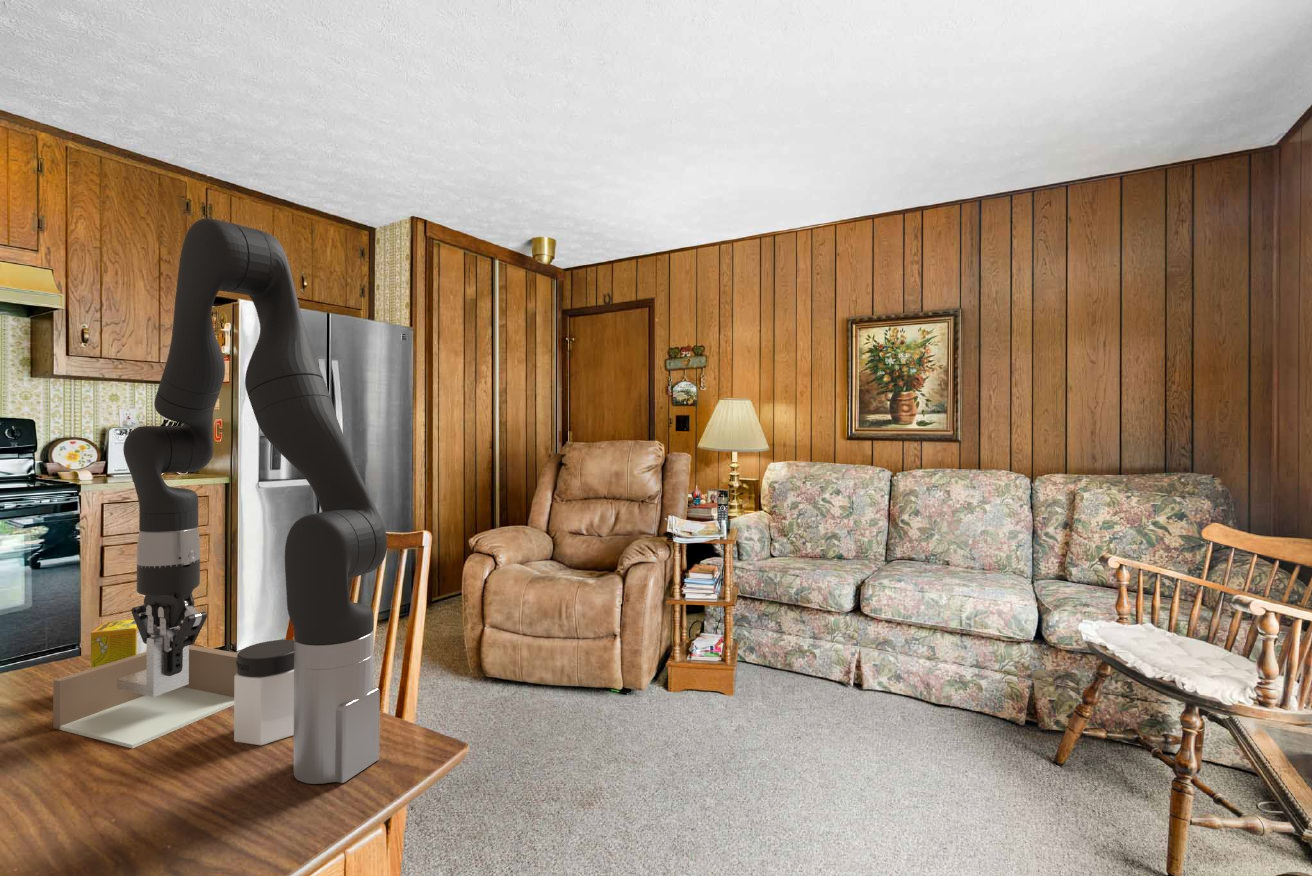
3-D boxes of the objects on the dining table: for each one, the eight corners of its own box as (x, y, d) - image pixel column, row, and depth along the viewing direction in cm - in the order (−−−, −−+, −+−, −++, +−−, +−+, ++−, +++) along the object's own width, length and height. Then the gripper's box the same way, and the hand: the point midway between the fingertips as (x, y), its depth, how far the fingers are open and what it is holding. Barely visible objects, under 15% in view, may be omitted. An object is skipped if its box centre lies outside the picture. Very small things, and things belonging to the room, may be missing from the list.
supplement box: (103, 686, 105) (103, 621, 105) (148, 680, 107) (148, 617, 107) (89, 700, 99) (89, 632, 99) (136, 693, 102) (136, 627, 102)
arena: (249, 698, 101) (250, 655, 101) (132, 748, 85) (132, 697, 85) (176, 683, 106) (176, 642, 106) (53, 728, 90) (53, 680, 90)
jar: (248, 720, 93) (248, 641, 93) (309, 714, 95) (309, 636, 95) (226, 750, 84) (226, 662, 84) (293, 742, 87) (294, 656, 87)
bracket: (188, 684, 96) (189, 629, 96) (153, 697, 91) (153, 639, 91) (153, 676, 98) (153, 623, 98) (117, 689, 94) (117, 632, 94)
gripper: (110, 559, 92) (109, 676, 92) (174, 567, 88) (173, 689, 88) (164, 550, 99) (163, 658, 99) (226, 557, 95) (225, 670, 95)
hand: (168, 672), depth 94 cm, fingers closed on bracket, 1 cm apart
